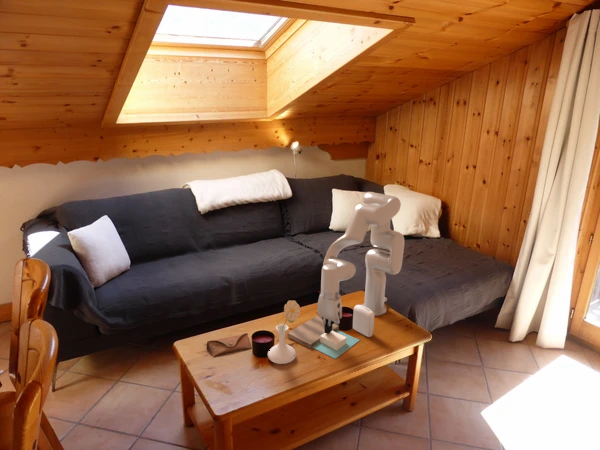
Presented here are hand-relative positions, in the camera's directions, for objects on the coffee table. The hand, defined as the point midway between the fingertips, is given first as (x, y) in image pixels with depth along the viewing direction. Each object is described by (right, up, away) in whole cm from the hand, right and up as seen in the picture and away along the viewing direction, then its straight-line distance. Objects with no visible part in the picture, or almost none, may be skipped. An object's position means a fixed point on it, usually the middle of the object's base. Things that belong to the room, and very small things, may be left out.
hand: (328, 332), depth 176 cm
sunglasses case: (-41, -6, -5) cm, 42 cm away
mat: (+3, -5, -2) cm, 6 cm away
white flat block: (+2, -4, -1) cm, 5 cm away
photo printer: (+16, -2, +8) cm, 18 cm away
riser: (-6, -2, +6) cm, 9 cm away
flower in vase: (-19, -7, -11) cm, 23 cm away
